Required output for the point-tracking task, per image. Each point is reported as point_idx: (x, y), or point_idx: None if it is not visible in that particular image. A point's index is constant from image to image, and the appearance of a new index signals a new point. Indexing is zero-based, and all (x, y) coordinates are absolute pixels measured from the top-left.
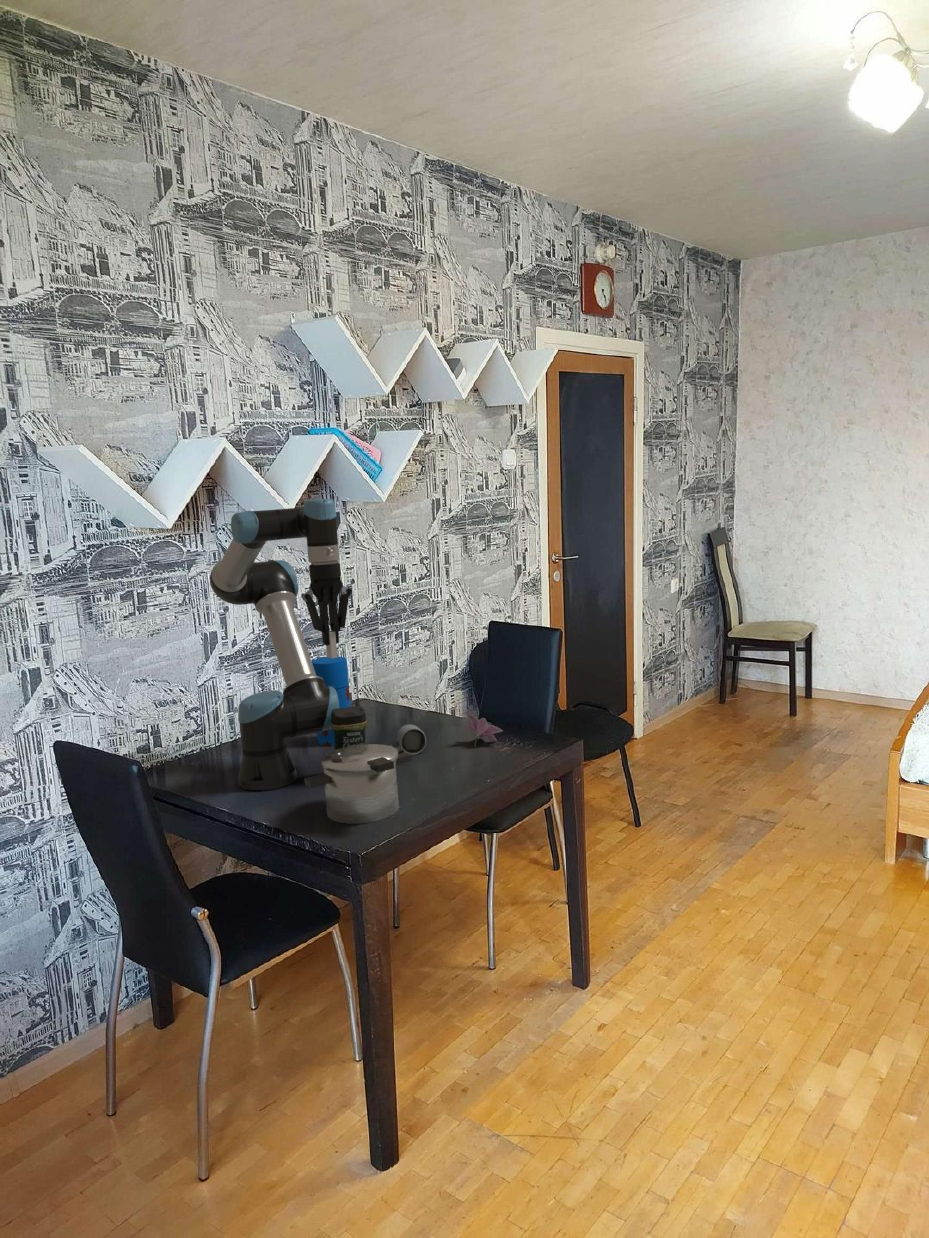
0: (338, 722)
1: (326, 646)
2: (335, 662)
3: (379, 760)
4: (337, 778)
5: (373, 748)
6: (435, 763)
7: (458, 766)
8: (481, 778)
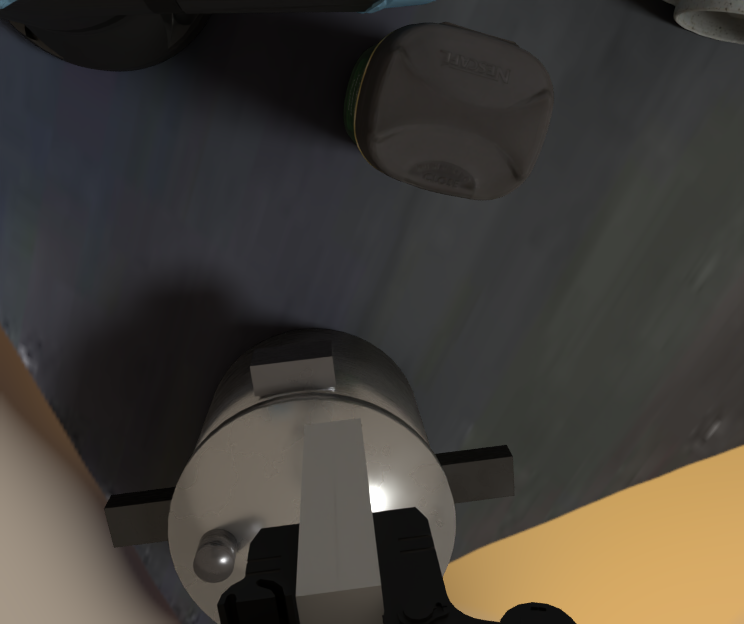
0: (376, 167)
1: (302, 486)
2: None
3: None
4: None
5: (390, 487)
6: (698, 184)
7: (732, 263)
8: (711, 402)
